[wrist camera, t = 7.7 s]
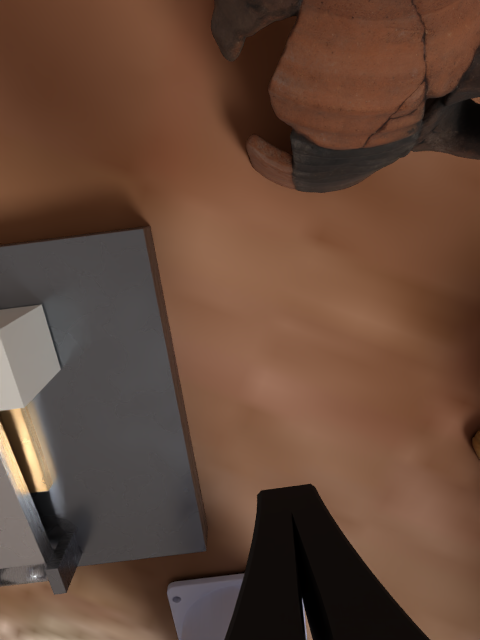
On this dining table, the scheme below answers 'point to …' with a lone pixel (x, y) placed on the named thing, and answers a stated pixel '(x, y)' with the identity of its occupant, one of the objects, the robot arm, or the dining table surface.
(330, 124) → the pottery mug
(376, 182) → the dining table surface
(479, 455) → the stuffed squirrel
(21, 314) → the block
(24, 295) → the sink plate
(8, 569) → the strap
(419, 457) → the dining table surface
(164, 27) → the dining table surface
